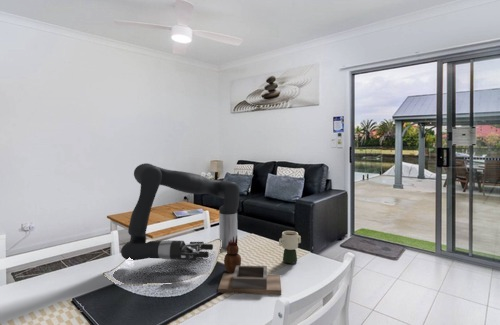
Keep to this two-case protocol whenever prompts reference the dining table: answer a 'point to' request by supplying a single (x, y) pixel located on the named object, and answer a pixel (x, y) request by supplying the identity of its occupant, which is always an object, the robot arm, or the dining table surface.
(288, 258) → the character mug
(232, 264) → the wooden figurine
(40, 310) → the dining table surface
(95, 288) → the dining table surface
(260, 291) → the socket stand
